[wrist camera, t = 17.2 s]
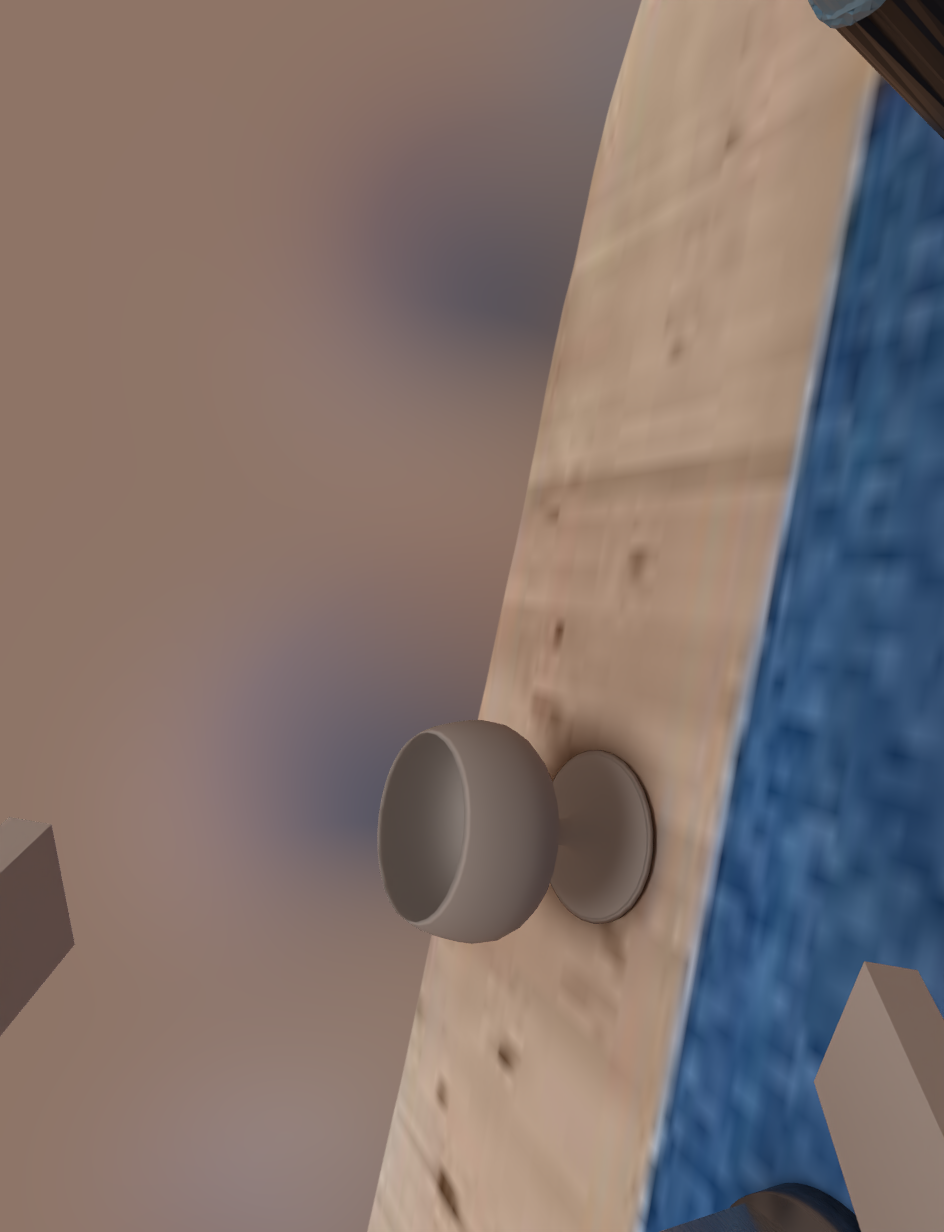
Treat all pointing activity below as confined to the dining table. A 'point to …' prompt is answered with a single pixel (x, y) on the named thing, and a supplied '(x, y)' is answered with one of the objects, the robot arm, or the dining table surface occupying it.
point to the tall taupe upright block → (730, 1221)
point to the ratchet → (802, 1209)
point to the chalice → (507, 833)
